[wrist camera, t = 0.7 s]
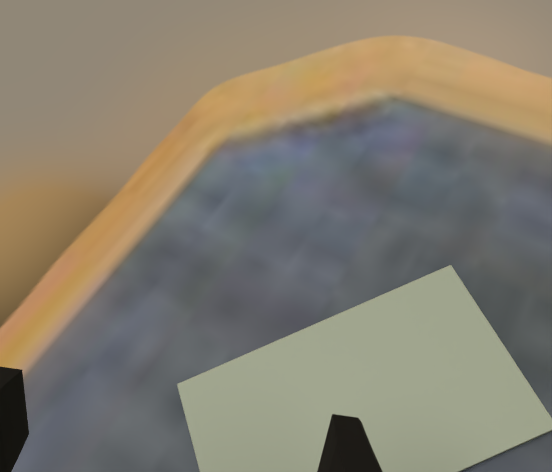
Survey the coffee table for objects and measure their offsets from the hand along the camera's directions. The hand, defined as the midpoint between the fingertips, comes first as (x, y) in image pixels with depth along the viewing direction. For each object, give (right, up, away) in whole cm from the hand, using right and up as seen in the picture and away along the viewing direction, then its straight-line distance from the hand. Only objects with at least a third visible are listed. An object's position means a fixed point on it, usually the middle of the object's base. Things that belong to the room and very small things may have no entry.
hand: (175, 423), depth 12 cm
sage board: (+6, -4, +14) cm, 16 cm away
